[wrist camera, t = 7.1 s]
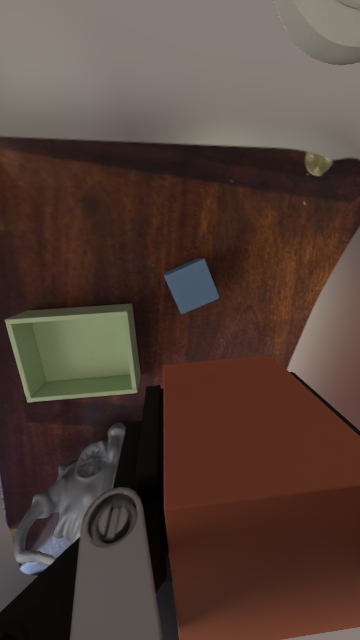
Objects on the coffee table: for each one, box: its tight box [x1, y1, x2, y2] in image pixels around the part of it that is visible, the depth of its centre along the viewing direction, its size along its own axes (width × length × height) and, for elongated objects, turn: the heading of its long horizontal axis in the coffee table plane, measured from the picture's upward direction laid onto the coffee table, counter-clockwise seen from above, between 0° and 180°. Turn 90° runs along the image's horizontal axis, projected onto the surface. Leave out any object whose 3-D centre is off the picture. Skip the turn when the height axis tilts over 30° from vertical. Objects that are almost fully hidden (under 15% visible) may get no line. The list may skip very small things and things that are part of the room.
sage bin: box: [5, 304, 141, 402], centre depth 31 cm, size 11×14×5 cm
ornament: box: [14, 422, 126, 565], centre depth 29 cm, size 18×20×20 cm
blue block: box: [164, 258, 219, 314], centre depth 29 cm, size 5×5×5 cm
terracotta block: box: [163, 355, 360, 640], centre depth 7 cm, size 4×4×6 cm
